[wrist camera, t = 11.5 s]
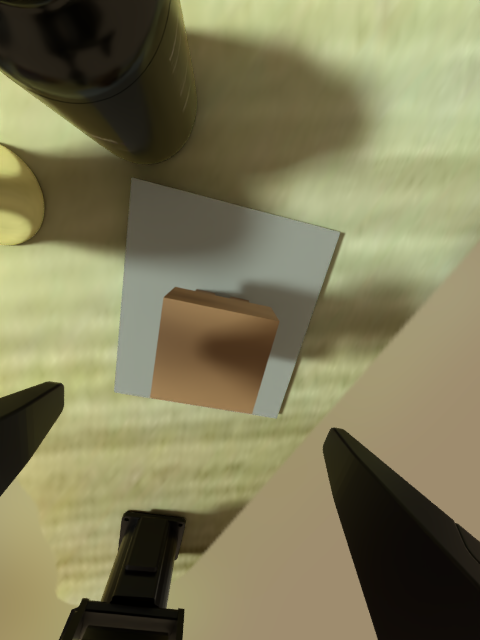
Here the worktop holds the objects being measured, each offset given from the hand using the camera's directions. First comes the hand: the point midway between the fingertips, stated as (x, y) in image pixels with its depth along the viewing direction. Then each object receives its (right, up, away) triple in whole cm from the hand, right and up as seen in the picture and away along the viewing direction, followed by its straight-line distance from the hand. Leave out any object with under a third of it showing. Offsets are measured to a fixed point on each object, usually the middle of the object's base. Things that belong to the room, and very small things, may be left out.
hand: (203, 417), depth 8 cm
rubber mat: (-1, +3, +11) cm, 11 cm away
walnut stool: (-1, +3, +10) cm, 11 cm away
